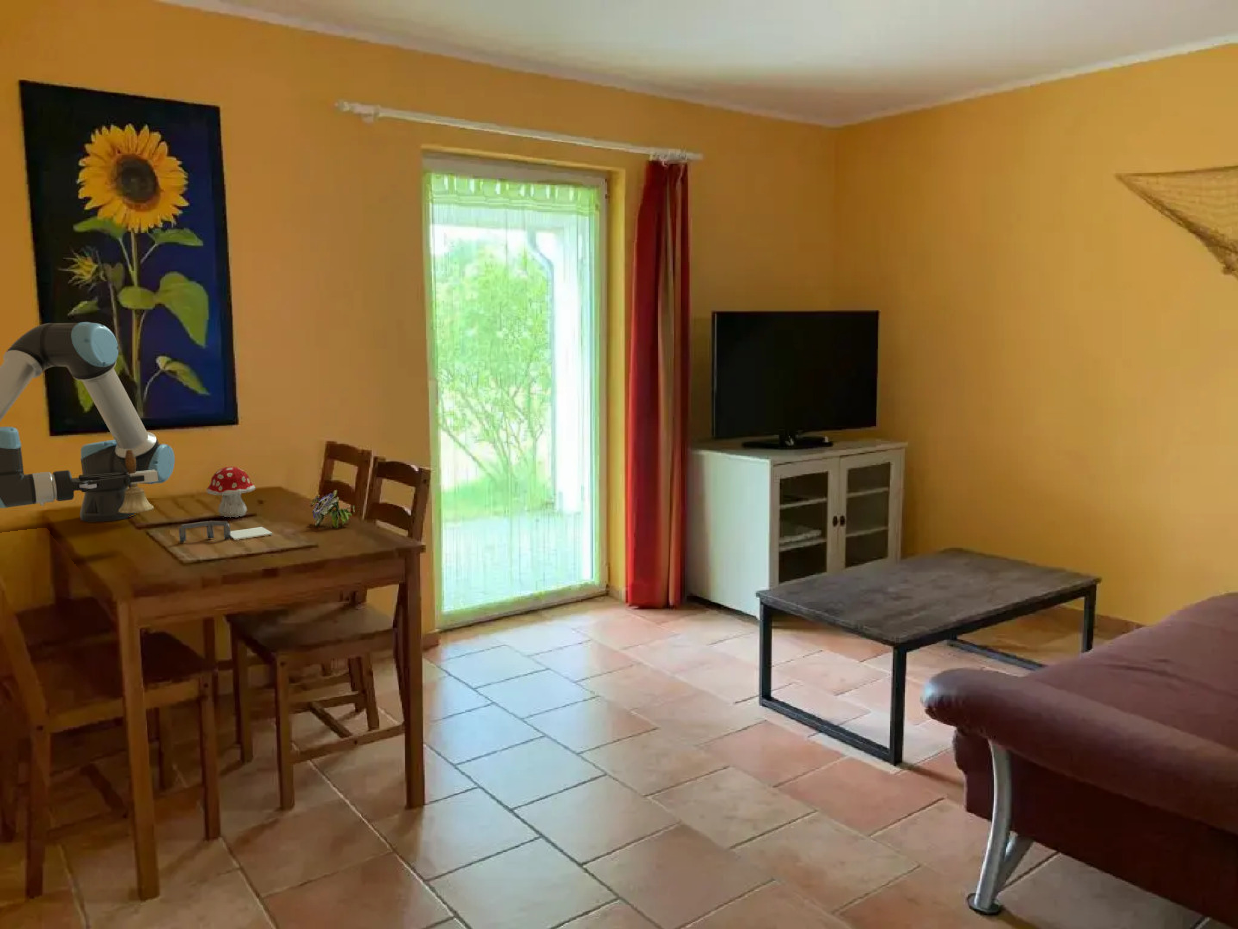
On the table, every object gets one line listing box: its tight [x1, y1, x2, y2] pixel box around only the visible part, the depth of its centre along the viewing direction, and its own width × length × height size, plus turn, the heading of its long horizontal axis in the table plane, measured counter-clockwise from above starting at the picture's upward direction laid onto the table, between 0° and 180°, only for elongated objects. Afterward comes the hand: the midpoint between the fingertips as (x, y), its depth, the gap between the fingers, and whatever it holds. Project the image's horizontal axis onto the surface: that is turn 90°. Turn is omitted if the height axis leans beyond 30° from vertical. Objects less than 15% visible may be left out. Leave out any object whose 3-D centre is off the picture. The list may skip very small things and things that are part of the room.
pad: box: [230, 526, 274, 541], centre depth 264 cm, size 10×10×1 cm
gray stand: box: [178, 520, 232, 543], centre depth 258 cm, size 5×12×5 cm, turn 126°
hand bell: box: [119, 450, 155, 514], centre depth 250 cm, size 8×8×16 cm
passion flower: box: [310, 489, 356, 529], centre depth 275 cm, size 11×11×12 cm
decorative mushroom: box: [206, 466, 256, 519], centre depth 288 cm, size 14×14×15 cm
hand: (156, 475), depth 253 cm, fingers closed on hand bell, 2 cm apart
